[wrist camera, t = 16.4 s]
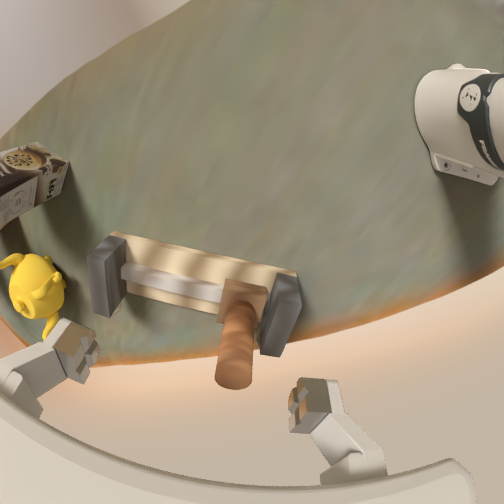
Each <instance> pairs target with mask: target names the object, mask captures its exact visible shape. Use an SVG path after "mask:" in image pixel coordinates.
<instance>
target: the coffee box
mask: <svg viewBox="0 0 504 504" xmlns="http://www.w3.org/2000/svg"><path fill="white" fill-rule="evenodd" d="M68 166H69V161H67V160H66V159H64V158H63V157H61V156H59V155H58V154H56V153H55V152H53V151H52V150H50V149H48V148H47V147H45V146H44V145H42V144H41V143H39V142H35V143H31V144H27V145H23V146H20V147H16V148H13V149H10V150H6V151H3V152H0V227H1V226H3V225H4V224H6V223H8V222H9V221H11V220H13V219H14V218H16V217H18V216H19V215H21V214H23V213H25V212H26V211H28V210H30V209H32V208H34V207H36V206H37V205H39V204H41V203H43V202H45V201H47V200H49V199H51V198H53V197H55V196H57V195H59V194H60V193H61V189H62V186H63V182H64V179H65V175H66V172H67V169H68Z"/></svg>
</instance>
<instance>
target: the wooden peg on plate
mask: <svg viewBox="0 0 504 504" xmlns="http://www.w3.org/2000/svg"><path fill="white" fill-rule="evenodd" d="M266 300H267V291H266V287H264V286H259V285H255V284H250V283H245V282H240V281H235V280H231V279H226V278H225V283H224V287H223V292H222V297H221V302H220V307H219V312H218V317H217V323H222V324H224V325H223V331H222V337H221V343H220V348H219V354H218V360H217V366H216V372H215V381H216V382H217V383H218V384H219V385H220V386H222V387H224V388H227V389H232V390H239V389H244V388H246V387H248V386H249V385H250V384H251V382H252V364H253V363H252V361H253V342H254V330H257V327H258V324H259V321H260V318H261V315H262V312H263V309H264V306H265V303H266Z"/></svg>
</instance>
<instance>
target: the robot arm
mask: <svg viewBox="0 0 504 504" xmlns="http://www.w3.org/2000/svg"><path fill="white" fill-rule="evenodd" d="M415 116H416V121H417V125H418V128H419V130H420V133H421V135H422V137H423V139H424V141H425V142H426V144H427V146H428V148H429V150H430V156H431V161H432V165H433V168H434V169H435V170H437V171H440V172H444V173H448V174H452V175H456V176H459V177H463V178H466V179H470V180H473V181H477V182H480V183H483V184H487V185H490V186H492V185H493V184H494V183H495V182H496V181H497V179H498V178H499V177H501V178H503V179H504V74H501V73H491V74H490V72H489V71H488V70H484V69H466V68H465V67H464V66H463V65H461V64H453V65H451V66H450V67H449V68H448V69H445V70H435V71H432V72H430V73H428V74H426V75H425V76H424V77H423V78H422V80H421V81H420V83H419V85H418V87H417V90H416V95H415ZM445 163H446V166H444V164H445ZM95 337H96V334H95V331H94V330H92V329H89V328H87V327H84V326H82V325H80V324H77V323H75V322H73V321H70V320H68V319H65V318H62V319H61V320H60V321H59V322H58V323H57V324H56V326H55V327H54V328H53V330H52V331H51V332H50V334H49V335H48V336H47V338H46V339H45V340H44V342H43V343H41V342H39V343H36V344H34V345H32V346H29V347H27V348H25V349H22V350H20V351H18V352H16V353H13V354H11V355H9V356H6V357H4V358H2V359H0V504H478V501H477V496H476V490H475V485H474V481H473V478H472V476H471V474H470V472H469V471H467V469H466V468H464V467H463V466H462V465H461V464H460V463H459V462H457V461H456V460H454V459H452V458H448V459H444V460H441V461H439V462H436V463H433V464H430V465H426V466H423V467H420V468H416V469H413V470H409V471H405V472H402V473H398V474H393V475H389V476H388V475H387V469H386V464H385V460H384V456H383V451H382V449H381V448H380V447H379V446H378V445H377V443H375V441H374V440H373V439H372V438H371V437H370V436H369V435H368V434H367V433H366V432H365V431H364V430H363V429H362V428H361V427H360V426H359V425H358V424H357V422H355V420H354V419H353V418H352V417H351V416H350V415H349V414H348V413H345V411H344V407H343V402H342V397H341V393H340V388H339V384H338V382H337V381H336V380H324V379H314V378H302V377H301V378H299V380H298V381H297V387H295V388H293V389H292V391H291V393H290V396H289V401H288V410H289V411H290V412H291V413H292V415H291V417H290V418H289V429H290V433H305V434H309V435H310V437H311V438H312V439H313V441H314V442H315V444H316V445H317V447H318V448H319V450H320V451H321V453H322V454H323V456H324V457H325V458H326V460H327V461H328V463H329V464H330V466H331V467H330V468H329V469H327V470H326V471H324V472H323V473H321V475H320V482H321V485H318V486H287V487H286V486H257V485H244V484H234V483H224V482H217V481H210V480H205V479H199V478H194V477H188V476H184V475H179V474H175V473H171V472H167V471H162V470H159V469H155V468H152V467H148V466H145V465H141V464H138V463H135V462H132V461H129V460H126V459H124V458H120V457H118V456H115V455H113V454H110V453H107V452H105V451H102V450H100V449H98V448H95V447H93V446H91V445H88V444H86V443H84V442H82V441H79V440H77V439H75V438H73V437H71V436H69V435H67V434H65V433H63V432H61V431H59V430H58V429H56V428H54V427H52V426H50V425H48V424H47V423H45V422H43V421H42V420H40V419H39V417H40V415H41V413H42V411H43V408H42V406H41V404H40V403H39V401H38V400H37V399H36V398H38V397H39V396H41V395H42V394H44V393H46V392H47V391H49V390H50V389H52V388H53V387H55V386H56V385H58V384H59V383H61V382H62V381H64V380H65V379H67V378H70V379H72V380H74V381H77V382H79V383H82V384H84V383H85V381H86V379H87V377H88V376H89V374H90V370H89V367H91V366H93V365H94V364H95V362H96V360H97V358H98V354H99V347H98V343H97V342H96V341H95V340H94V339H95Z"/></svg>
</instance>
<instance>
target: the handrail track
mask: <svg viewBox="0 0 504 504" xmlns="http://www.w3.org/2000/svg"><path fill="white" fill-rule="evenodd" d="M86 259H87V269H88V278H89V286H90V293H91V300H92V306H93V312H94V313H96V314H99V315H102V316H105V317H108V318H110V317H111V316H112V315H113V314H116V313H118V312H119V311H120V310H121V307H122V306H121V300H122V299H123V297H124V296H125V294H126V293H127V292H129V293H133V294H136V295H140V296H143V297H147V298H151V299H155V300H159V301H162V302H166V303H170V304H174V305H179V306H183V307H187V308H191V309H195V310H200V311H204V312H209V313H213V314H218V312H219V307H220V302H221V297H222V292H223V287H224V283H225V278H226V279H231V280H235V281H240V282H245V283H250V284H255V285H259V286H264V287H266V291H267V300H266V303H265V306H264V309H263V312H262V315H261V318H260V321H259V323H261V325H260V335H259V336H258V337H257V340H256V345H257V347H258V348H259V349H260V354H261V355H267V356H273V357H280V356H281V354H282V352H283V350H284V347H285V345H286V343H287V341H288V338H289V336H290V334H291V332H292V329H293V327H294V325H295V323H296V320H297V318H298V316H299V313H300V311H301V308H302V301H301V296H300V291H299V285H298V280H297V275H296V271H292V270H287V269H282V268H278V267H273V266H268V265H264V264H259V263H254V262H250V261H245V260H240V259H236V258H231V257H227V256H222V255H217V254H213V253H208V252H204V251H199V250H195V249H190V248H186V247H181V246H177V245H172V244H168V243H163V242H159V241H154V240H150V239H146V238H141V237H137V236H132V235H128V234H124V233H119V232H115V231H114V232H112V233H111V234H110V235H109V236H108V237H107V238H106V239H105V240H103V241H102V242H101V243H100V244H99V245H98V246H97V247H96V248H95V249H94V250H93V251H91V252H90V253H89V254H88V255H87V256H86Z"/></svg>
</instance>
